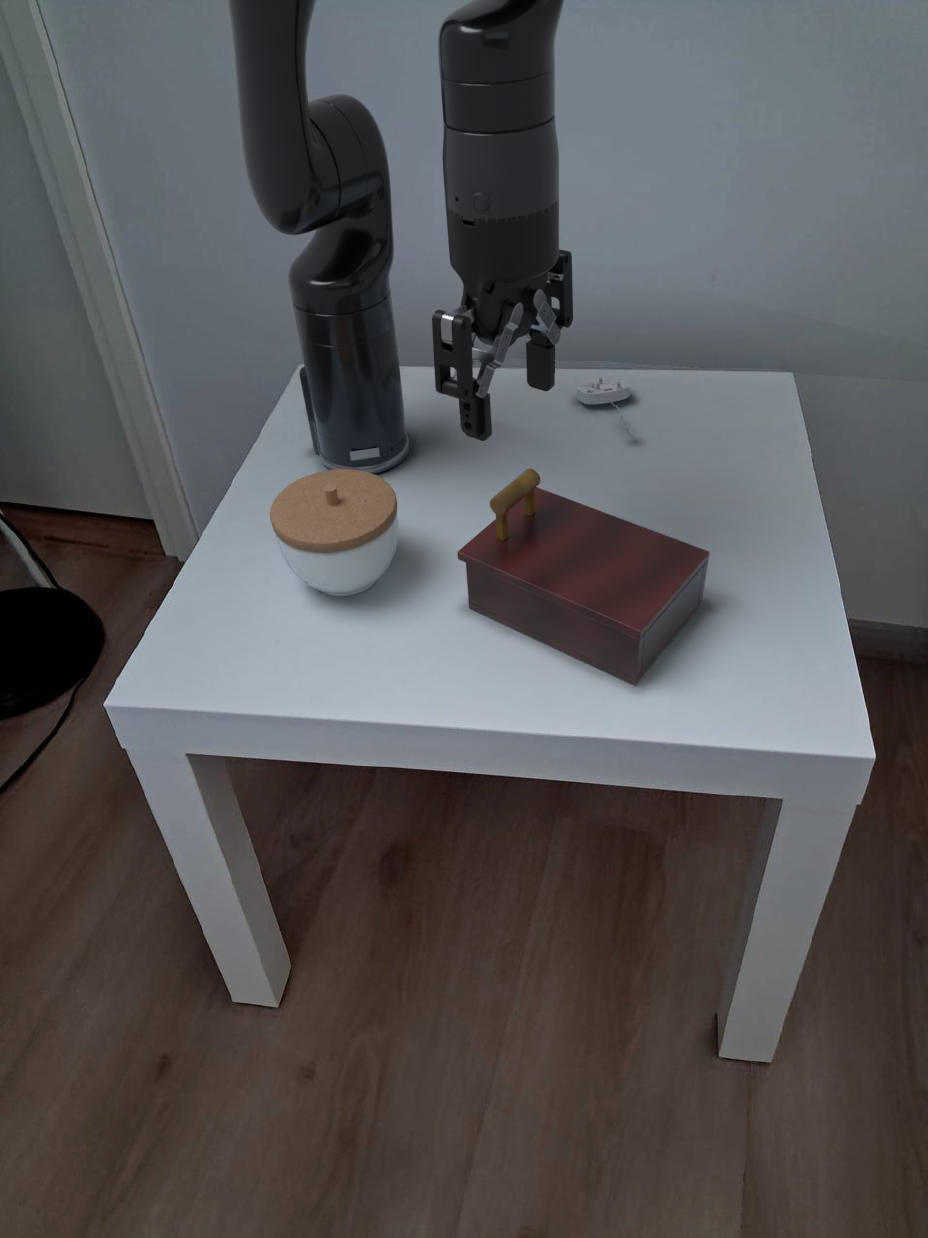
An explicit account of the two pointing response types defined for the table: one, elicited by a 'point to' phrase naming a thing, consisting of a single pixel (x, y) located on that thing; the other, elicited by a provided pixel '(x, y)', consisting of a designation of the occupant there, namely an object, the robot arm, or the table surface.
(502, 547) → the cover
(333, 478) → the trinket box
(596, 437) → the table surface
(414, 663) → the table surface
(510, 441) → the table surface
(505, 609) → the mahogany keepsake chest
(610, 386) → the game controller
